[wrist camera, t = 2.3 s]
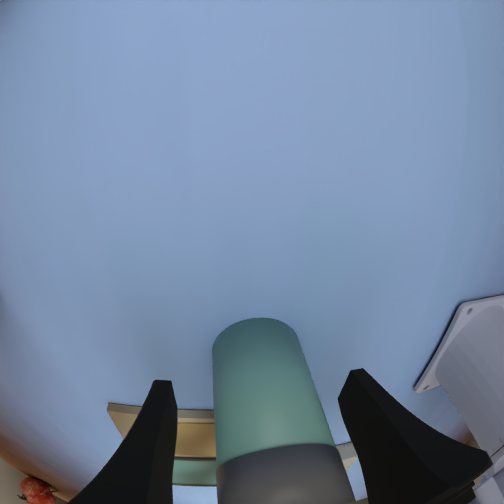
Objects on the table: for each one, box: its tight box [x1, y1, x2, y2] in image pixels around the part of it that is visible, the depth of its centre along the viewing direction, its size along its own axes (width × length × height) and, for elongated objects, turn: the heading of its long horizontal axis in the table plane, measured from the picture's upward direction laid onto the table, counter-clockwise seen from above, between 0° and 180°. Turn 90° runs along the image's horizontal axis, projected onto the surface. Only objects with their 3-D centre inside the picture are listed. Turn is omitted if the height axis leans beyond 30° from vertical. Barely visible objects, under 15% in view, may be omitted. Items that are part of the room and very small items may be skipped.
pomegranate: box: [18, 477, 57, 504], centre depth 22 cm, size 7×7×10 cm
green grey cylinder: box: [212, 318, 356, 504], centre depth 9 cm, size 4×4×8 cm
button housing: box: [336, 442, 358, 470], centre depth 19 cm, size 6×6×2 cm
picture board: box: [107, 403, 217, 486], centre depth 17 cm, size 11×14×1 cm
